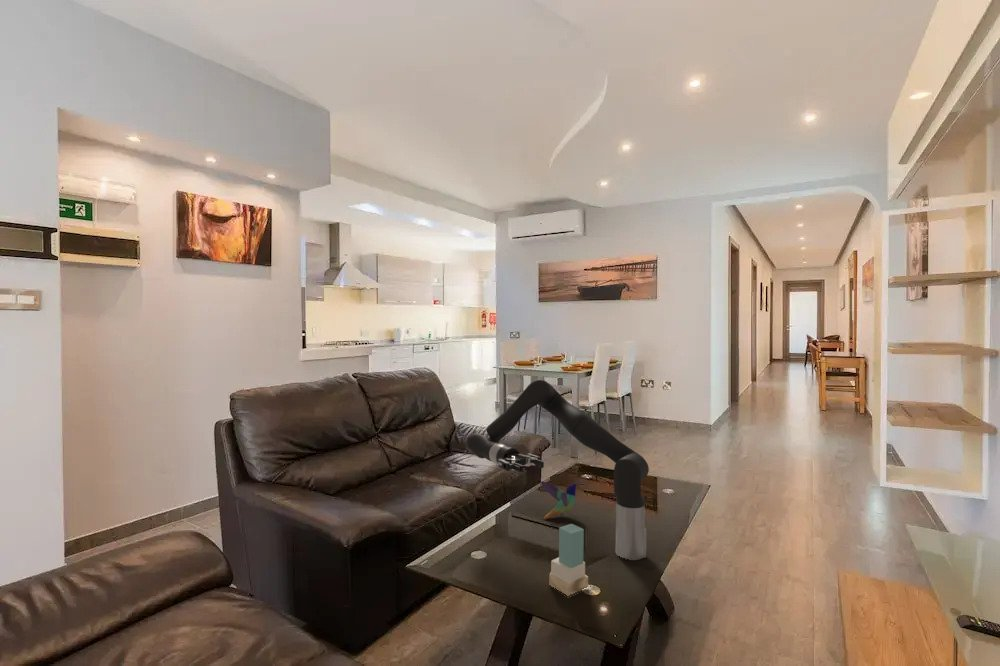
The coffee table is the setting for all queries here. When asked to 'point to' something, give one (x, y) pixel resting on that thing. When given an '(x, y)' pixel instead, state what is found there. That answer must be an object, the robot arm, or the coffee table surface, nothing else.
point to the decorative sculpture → (561, 498)
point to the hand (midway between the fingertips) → (532, 467)
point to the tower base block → (567, 587)
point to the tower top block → (567, 571)
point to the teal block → (571, 545)
